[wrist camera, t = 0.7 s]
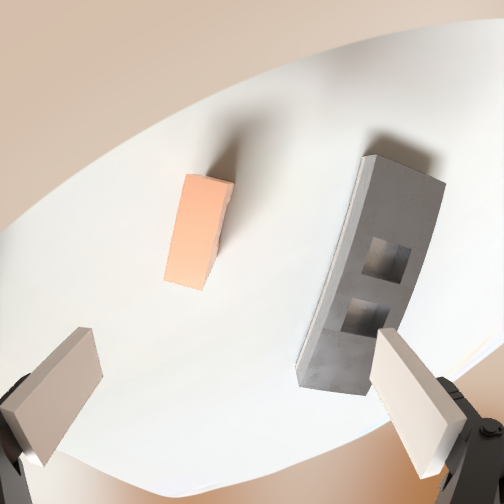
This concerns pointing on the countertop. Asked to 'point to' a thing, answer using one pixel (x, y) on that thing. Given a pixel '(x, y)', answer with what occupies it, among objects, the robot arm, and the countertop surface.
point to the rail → (370, 274)
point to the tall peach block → (197, 230)
